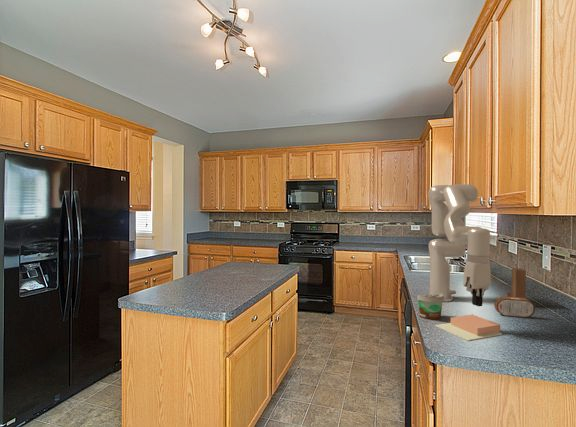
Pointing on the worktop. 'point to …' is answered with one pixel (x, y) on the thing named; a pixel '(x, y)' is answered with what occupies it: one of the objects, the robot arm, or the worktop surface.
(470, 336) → the mat
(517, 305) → the tin
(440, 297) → the food container
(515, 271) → the wooden block
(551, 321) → the worktop surface
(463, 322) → the tile
